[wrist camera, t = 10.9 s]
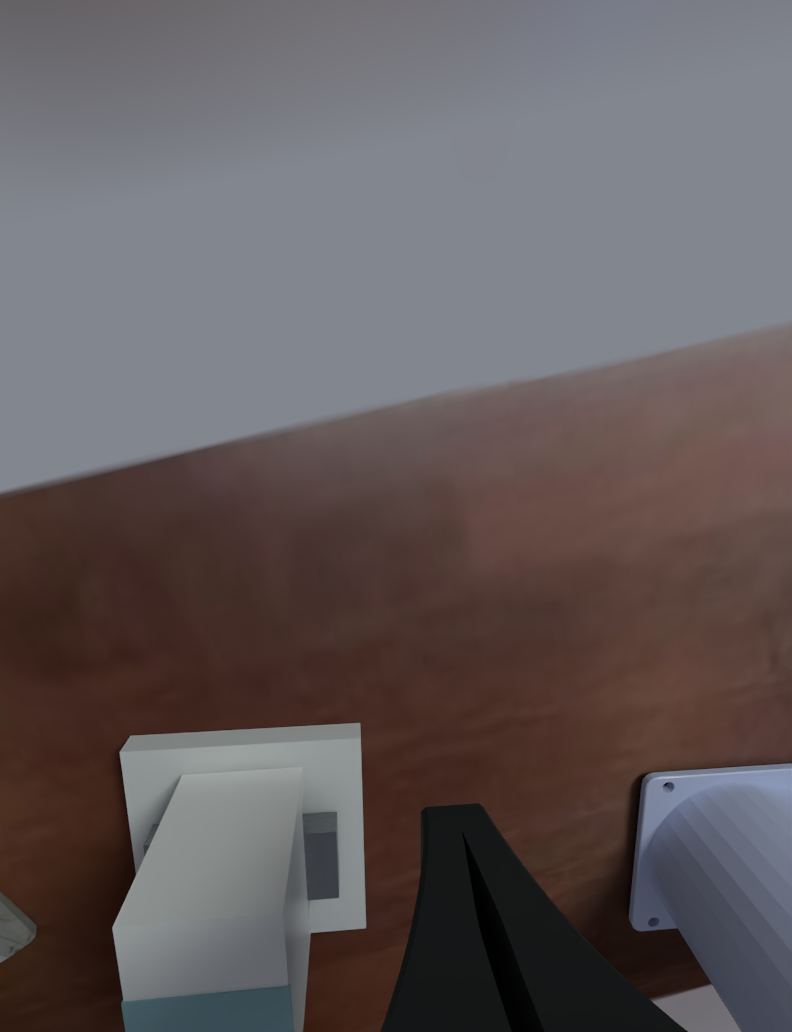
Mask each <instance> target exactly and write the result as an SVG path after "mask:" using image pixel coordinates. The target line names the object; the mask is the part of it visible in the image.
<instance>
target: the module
mask: <svg viewBox="0 0 792 1032" xmlns="http://www.w3.org/2000/svg"><path fill="white" fill-rule="evenodd" d="M303 796H304V777H303V767H293V768H278V769H263V770H248V771H233V772H218V773H203V774H188V775H182V776H181V778H180V781H179V783H178V785H177V787H176V789H175V792H174V794H173V796H172V798H171V800H170V803H169V805H168V807H167V809H166V811H165V813H164V816H163V818H162V820H161V822H160V824H159V827H158V829H157V831H156V833H155V835H154V837H153V840H152V842H151V844H150V846H149V848H148V851H147V853H146V855H145V857H144V859H143V862H142V864H141V866H140V868H139V870H138V872H137V875H136V877H135V879H134V881H133V883H132V886H131V888H130V890H129V892H128V894H127V897H126V899H125V901H124V903H123V905H122V907H121V910H120V912H119V914H118V916H117V918H116V921H115V923H114V925H113V927H112V930H113V936H114V942H115V949H116V955H117V962H118V968H119V975H120V981H121V987H122V994H123V1000H122V1003H121V1006H122V1013H123V1019H124V1025H125V1032H303V1024H304V1011H305V998H306V986H307V973H308V960H309V948H310V935H311V922H312V910H311V900H307V884H306V868H305V851H304V835H303V819H302V804H303Z"/></svg>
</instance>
